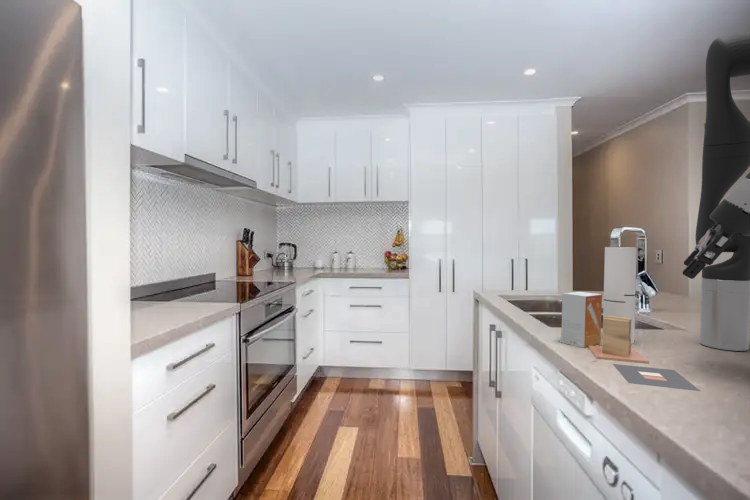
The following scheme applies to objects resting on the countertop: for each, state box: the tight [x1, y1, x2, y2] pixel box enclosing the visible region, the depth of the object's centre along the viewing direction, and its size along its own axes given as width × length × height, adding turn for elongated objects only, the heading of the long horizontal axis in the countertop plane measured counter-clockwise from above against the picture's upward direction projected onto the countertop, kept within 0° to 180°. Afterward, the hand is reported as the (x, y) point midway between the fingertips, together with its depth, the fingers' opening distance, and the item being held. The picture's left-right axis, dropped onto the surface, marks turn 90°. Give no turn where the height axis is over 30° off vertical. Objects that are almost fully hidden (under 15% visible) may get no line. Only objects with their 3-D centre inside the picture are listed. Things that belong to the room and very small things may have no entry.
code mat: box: [612, 363, 701, 392], centre depth 76 cm, size 12×11×1 cm
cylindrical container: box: [602, 246, 637, 345], centre depth 103 cm, size 7×7×25 cm
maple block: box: [601, 316, 632, 357], centre depth 90 cm, size 5×5×8 cm
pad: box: [587, 345, 650, 365], centre depth 90 cm, size 10×10×1 cm
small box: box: [560, 291, 603, 348], centre depth 100 cm, size 8×6×13 cm
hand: (687, 270), depth 84 cm, fingers open, 8 cm apart
